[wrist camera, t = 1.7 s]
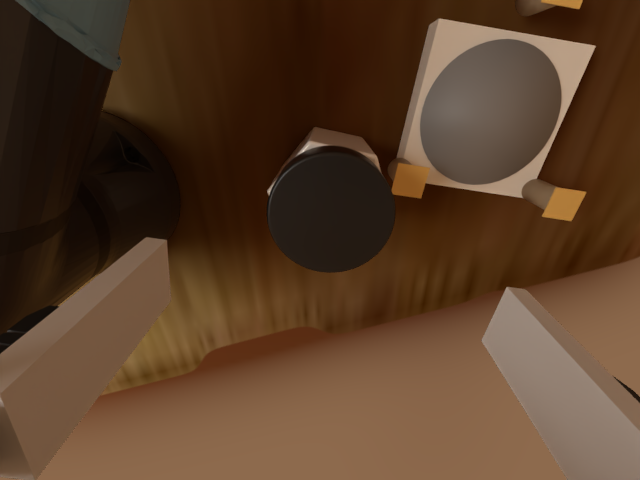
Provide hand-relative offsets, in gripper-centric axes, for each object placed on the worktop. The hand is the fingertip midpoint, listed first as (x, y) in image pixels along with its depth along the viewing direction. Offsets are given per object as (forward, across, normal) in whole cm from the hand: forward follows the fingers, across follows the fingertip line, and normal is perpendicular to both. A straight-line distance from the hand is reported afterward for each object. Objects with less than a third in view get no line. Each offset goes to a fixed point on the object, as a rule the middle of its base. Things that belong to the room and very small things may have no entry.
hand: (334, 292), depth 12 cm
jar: (+20, 0, 0) cm, 20 cm away
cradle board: (+20, +12, +8) cm, 25 cm away
